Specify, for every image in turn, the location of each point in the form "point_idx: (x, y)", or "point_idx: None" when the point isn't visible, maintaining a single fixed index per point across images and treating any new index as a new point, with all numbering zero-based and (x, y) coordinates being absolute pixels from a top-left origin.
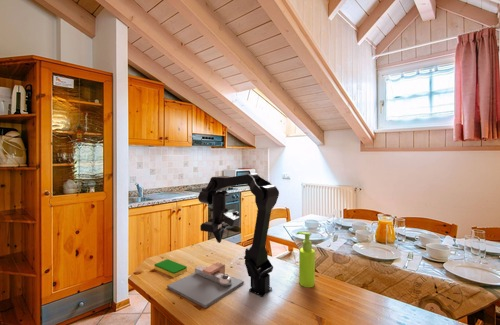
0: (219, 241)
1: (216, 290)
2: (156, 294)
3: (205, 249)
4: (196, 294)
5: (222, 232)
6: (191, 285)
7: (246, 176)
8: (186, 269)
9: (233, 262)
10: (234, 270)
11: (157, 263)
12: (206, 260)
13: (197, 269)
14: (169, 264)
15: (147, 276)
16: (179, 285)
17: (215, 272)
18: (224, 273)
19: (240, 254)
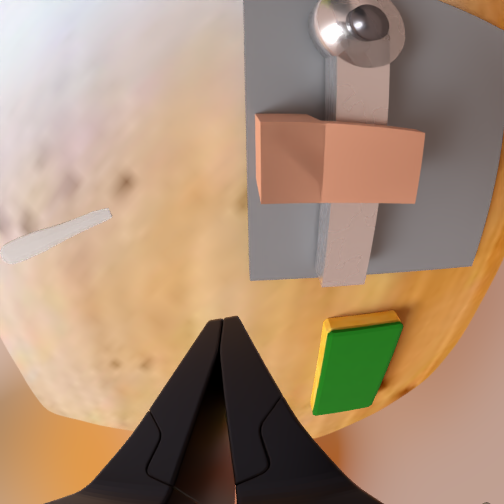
0: (245, 330)
1: (423, 40)
2: (499, 252)
3: (121, 397)
4: (485, 110)
5: (179, 452)
6: (447, 185)
7: None
8: (332, 324)
9: (82, 219)
10: (144, 132)
11: (361, 406)
12: (181, 337)
13: (367, 260)
14: (349, 385)
15: (418, 364)
16: (461, 229)
17: None
18: (260, 114)
19: (12, 260)
